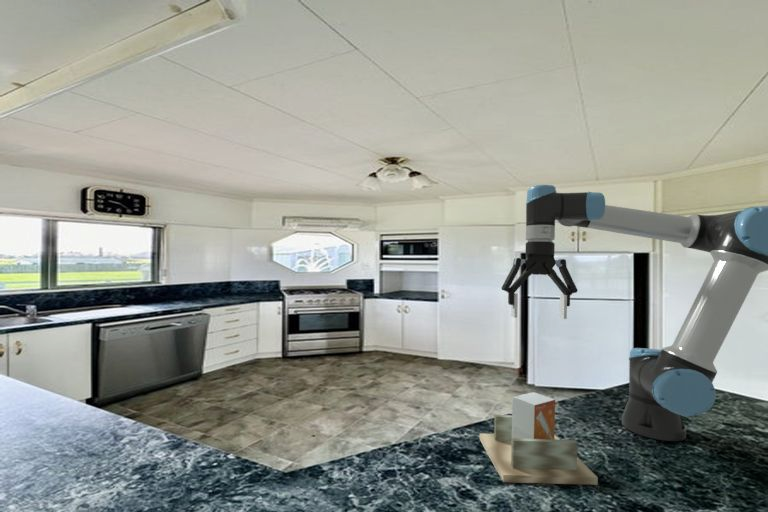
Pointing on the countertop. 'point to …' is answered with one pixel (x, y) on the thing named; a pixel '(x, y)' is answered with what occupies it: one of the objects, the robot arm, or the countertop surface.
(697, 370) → the robot arm
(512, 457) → the bookend shelf
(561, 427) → the countertop surface
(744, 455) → the countertop surface
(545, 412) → the small box
